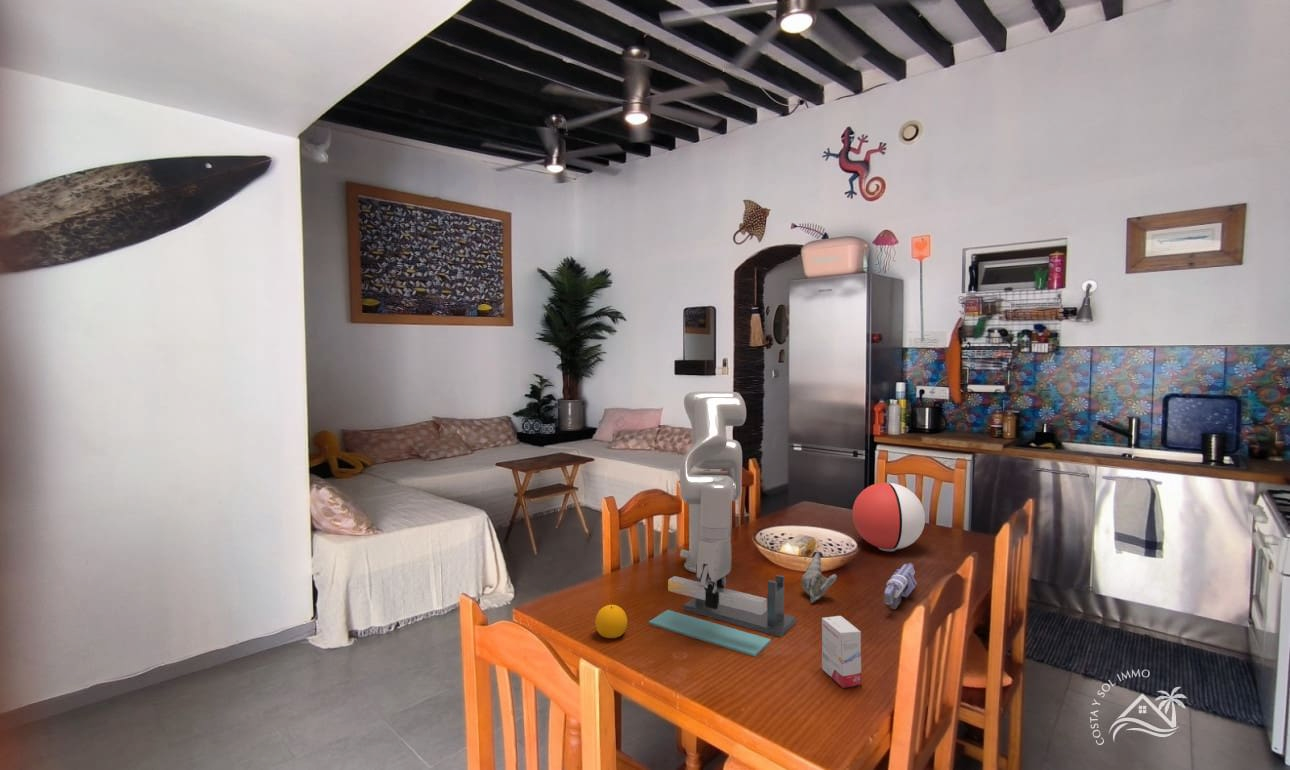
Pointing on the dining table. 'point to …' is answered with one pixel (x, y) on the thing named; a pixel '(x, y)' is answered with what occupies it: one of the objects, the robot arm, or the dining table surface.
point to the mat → (711, 632)
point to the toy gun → (900, 585)
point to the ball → (888, 516)
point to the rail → (719, 595)
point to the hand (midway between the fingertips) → (715, 604)
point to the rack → (766, 623)
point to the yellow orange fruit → (611, 621)
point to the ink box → (841, 651)
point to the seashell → (816, 579)
